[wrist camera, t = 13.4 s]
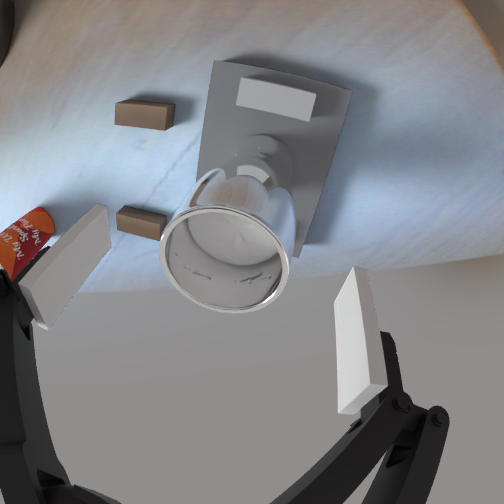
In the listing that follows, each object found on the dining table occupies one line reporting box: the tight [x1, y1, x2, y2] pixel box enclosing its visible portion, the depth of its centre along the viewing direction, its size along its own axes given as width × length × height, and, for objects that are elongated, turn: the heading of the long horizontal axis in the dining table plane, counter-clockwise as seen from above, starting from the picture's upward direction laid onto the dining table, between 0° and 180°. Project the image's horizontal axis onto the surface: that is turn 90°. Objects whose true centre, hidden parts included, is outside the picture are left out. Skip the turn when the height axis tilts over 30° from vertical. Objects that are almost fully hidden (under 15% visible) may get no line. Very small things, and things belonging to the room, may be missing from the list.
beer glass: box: [159, 135, 297, 313], centre depth 20 cm, size 7×7×15 cm
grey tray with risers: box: [196, 60, 352, 258], centre depth 26 cm, size 18×12×4 cm, turn 169°
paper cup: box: [0, 207, 55, 282], centre depth 33 cm, size 8×8×14 cm
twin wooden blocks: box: [115, 100, 175, 241], centre depth 30 cm, size 16×6×2 cm, turn 169°
